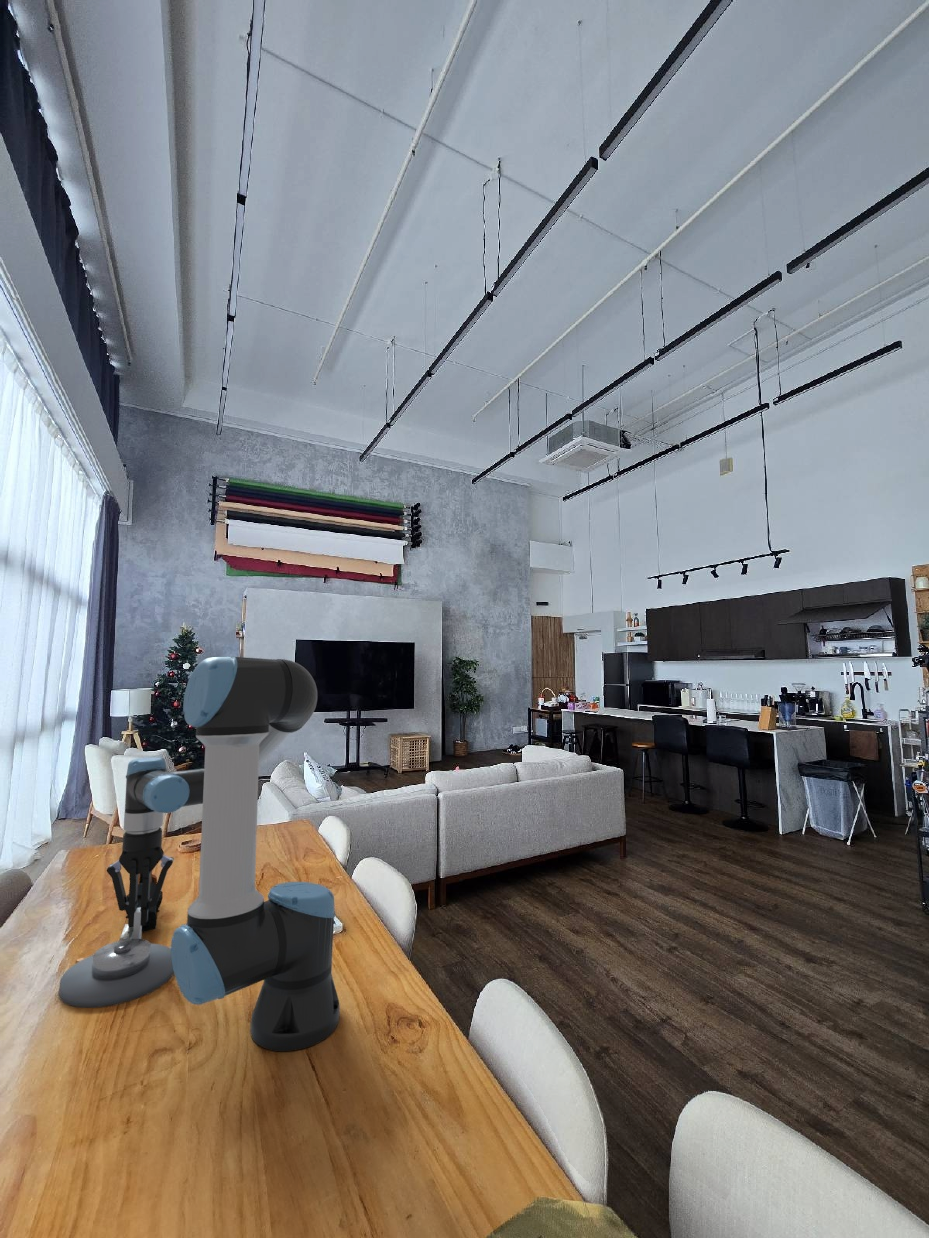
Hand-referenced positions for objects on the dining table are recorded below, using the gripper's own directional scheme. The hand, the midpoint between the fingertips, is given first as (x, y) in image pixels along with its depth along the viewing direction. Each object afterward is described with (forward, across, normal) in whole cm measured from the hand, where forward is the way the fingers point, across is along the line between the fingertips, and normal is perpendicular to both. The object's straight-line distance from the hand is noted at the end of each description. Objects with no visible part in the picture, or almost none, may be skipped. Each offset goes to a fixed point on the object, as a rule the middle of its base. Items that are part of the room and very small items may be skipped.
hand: (136, 940), depth 119 cm
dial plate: (+3, +1, +7) cm, 8 cm away
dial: (+1, +1, +6) cm, 6 cm away
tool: (+4, +2, -19) cm, 20 cm away
